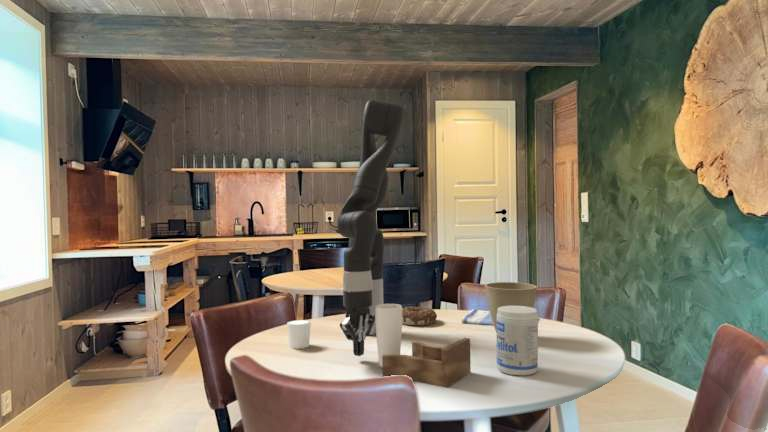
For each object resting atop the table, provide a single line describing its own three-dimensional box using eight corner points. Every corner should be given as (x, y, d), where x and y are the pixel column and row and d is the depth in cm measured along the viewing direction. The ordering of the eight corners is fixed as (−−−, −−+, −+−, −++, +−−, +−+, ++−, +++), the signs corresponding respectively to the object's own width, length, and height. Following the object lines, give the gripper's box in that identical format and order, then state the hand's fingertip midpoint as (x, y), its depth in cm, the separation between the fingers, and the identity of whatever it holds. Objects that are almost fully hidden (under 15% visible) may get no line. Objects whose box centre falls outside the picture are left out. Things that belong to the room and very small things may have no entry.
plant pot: (506, 347, 137) (505, 290, 137) (476, 336, 151) (475, 284, 151) (548, 341, 143) (547, 286, 143) (515, 330, 157) (514, 280, 157)
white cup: (315, 343, 145) (315, 320, 145) (304, 350, 138) (303, 325, 138) (294, 342, 147) (294, 318, 147) (282, 348, 141) (282, 323, 141)
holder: (380, 377, 114) (380, 342, 114) (414, 359, 127) (413, 329, 127) (444, 390, 105) (443, 352, 105) (473, 370, 118) (473, 336, 118)
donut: (390, 324, 169) (389, 310, 169) (409, 317, 181) (408, 303, 181) (427, 329, 162) (427, 314, 162) (444, 321, 173) (444, 307, 173)
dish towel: (471, 315, 185) (471, 307, 185) (537, 319, 175) (537, 311, 175) (459, 325, 169) (459, 316, 169) (530, 330, 159) (530, 321, 159)
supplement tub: (489, 371, 117) (488, 309, 117) (507, 361, 124) (506, 303, 124) (528, 379, 111) (527, 314, 111) (545, 369, 118) (544, 307, 118)
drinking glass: (400, 371, 118) (399, 308, 118) (373, 370, 119) (372, 308, 119) (405, 362, 125) (404, 303, 125) (378, 361, 126) (377, 303, 126)
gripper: (361, 283, 135) (362, 347, 135) (329, 290, 124) (331, 359, 124) (383, 285, 130) (385, 351, 131) (353, 292, 119) (354, 364, 120)
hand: (358, 354), depth 127 cm, fingers closed
